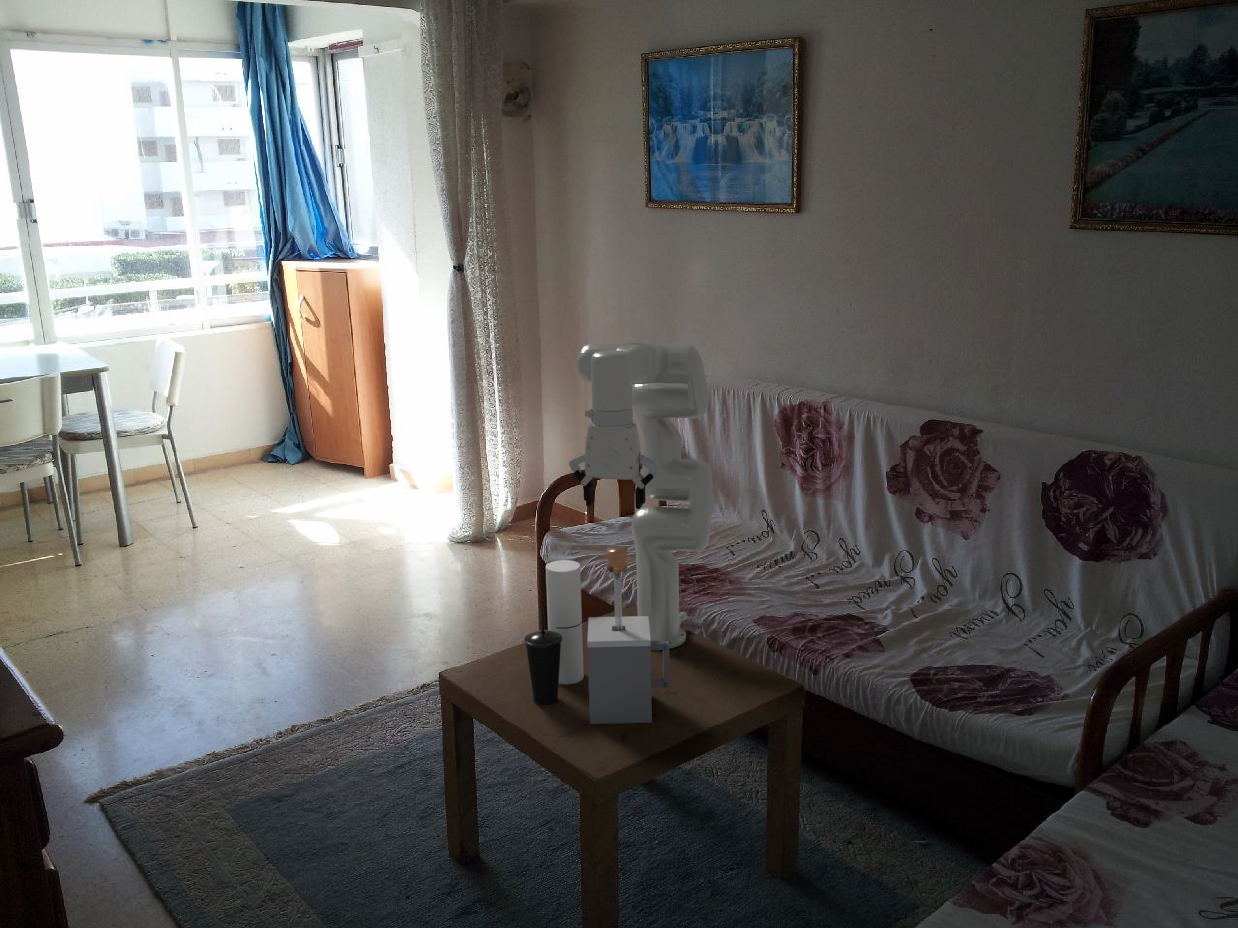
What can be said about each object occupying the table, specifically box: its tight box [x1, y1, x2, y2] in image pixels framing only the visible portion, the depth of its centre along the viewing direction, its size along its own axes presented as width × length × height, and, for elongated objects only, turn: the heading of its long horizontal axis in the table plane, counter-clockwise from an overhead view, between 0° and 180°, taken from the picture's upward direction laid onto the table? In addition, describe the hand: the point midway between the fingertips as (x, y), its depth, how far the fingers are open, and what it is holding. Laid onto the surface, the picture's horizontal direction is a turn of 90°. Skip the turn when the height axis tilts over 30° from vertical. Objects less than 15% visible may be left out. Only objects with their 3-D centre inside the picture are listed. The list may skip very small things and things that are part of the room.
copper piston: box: [605, 545, 629, 631], centre depth 207 cm, size 9×9×23 cm
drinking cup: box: [523, 607, 562, 707], centre depth 215 cm, size 8×8×20 cm
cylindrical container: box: [545, 559, 585, 685], centre depth 224 cm, size 7×7×25 cm
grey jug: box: [586, 615, 671, 725], centre depth 211 cm, size 16×12×17 cm
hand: (614, 505), depth 202 cm, fingers open, 9 cm apart
